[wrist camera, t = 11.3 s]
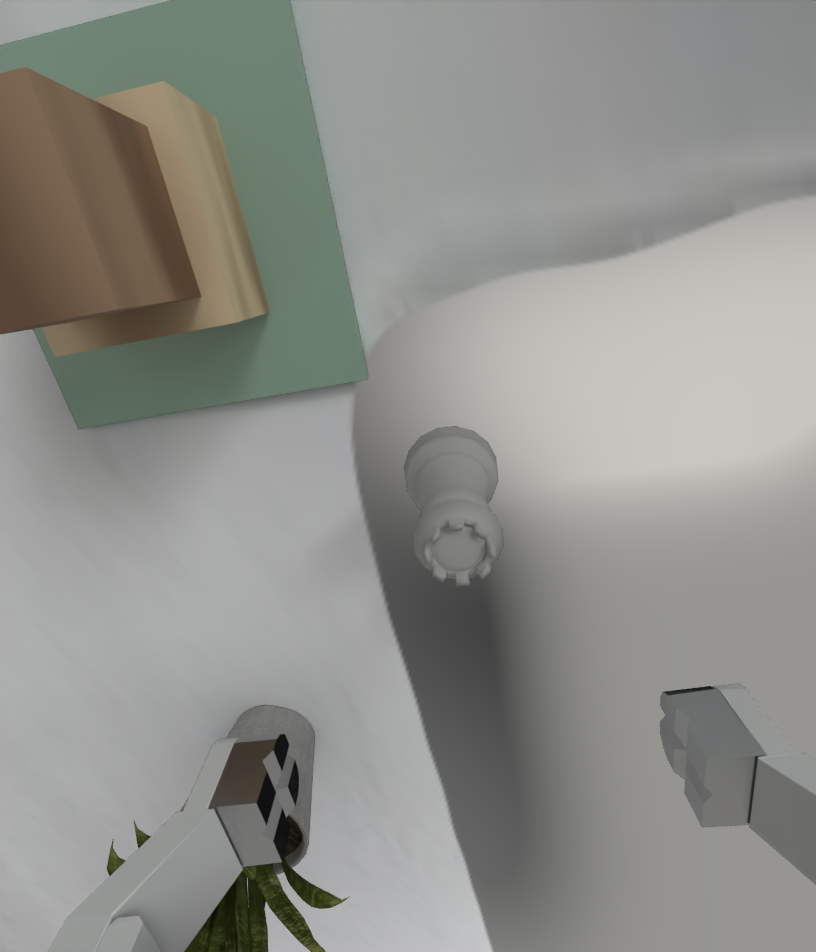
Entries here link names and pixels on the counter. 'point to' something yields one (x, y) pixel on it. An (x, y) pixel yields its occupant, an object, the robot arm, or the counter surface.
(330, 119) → the counter surface
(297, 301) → the build pad
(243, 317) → the oak base block
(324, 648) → the counter surface
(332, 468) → the counter surface
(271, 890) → the house plant
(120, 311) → the walnut cube
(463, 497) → the rook chess piece
